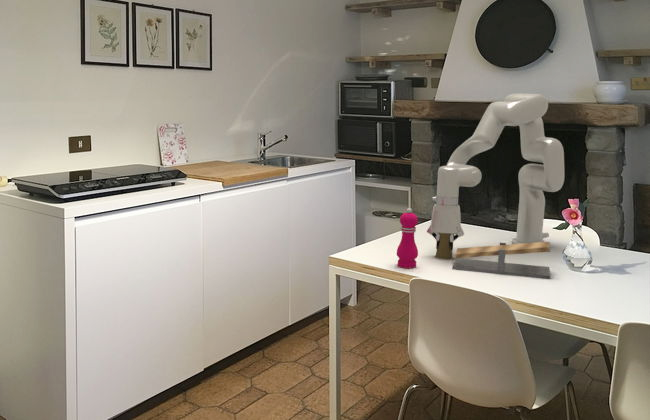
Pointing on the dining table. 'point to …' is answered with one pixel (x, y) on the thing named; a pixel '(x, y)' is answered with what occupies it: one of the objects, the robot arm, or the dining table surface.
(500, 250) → the stand
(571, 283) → the dining table surface
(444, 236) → the cork
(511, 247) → the beam
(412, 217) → the pepper mill
